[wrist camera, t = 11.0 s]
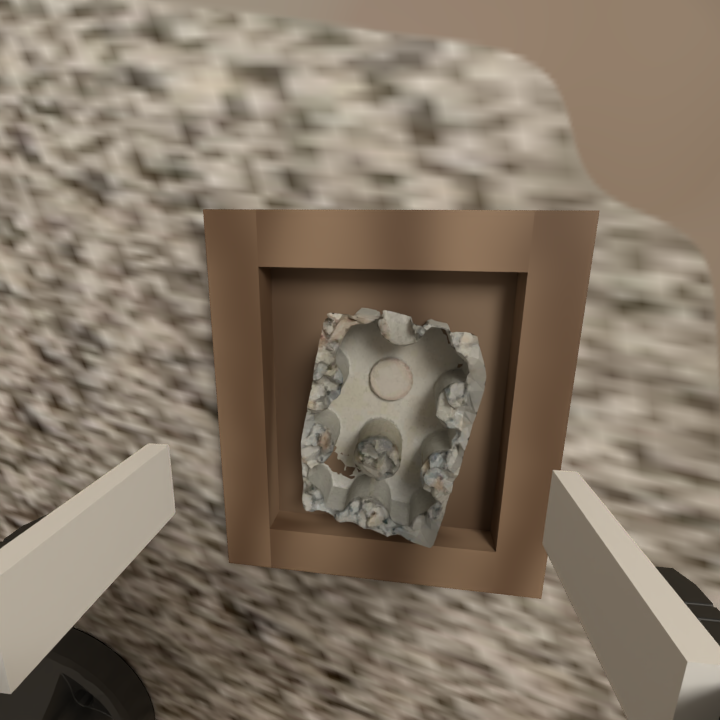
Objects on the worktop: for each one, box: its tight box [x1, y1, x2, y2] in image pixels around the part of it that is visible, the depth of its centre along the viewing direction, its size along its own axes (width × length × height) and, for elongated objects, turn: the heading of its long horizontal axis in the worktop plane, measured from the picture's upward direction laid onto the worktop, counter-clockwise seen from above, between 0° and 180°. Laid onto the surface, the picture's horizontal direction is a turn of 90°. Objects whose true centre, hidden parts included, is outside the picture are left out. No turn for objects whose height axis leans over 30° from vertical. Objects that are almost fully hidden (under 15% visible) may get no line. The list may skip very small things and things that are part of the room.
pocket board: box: [203, 209, 599, 599], centre depth 21 cm, size 17×19×2 cm
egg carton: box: [301, 308, 486, 548], centre depth 20 cm, size 11×8×4 cm
